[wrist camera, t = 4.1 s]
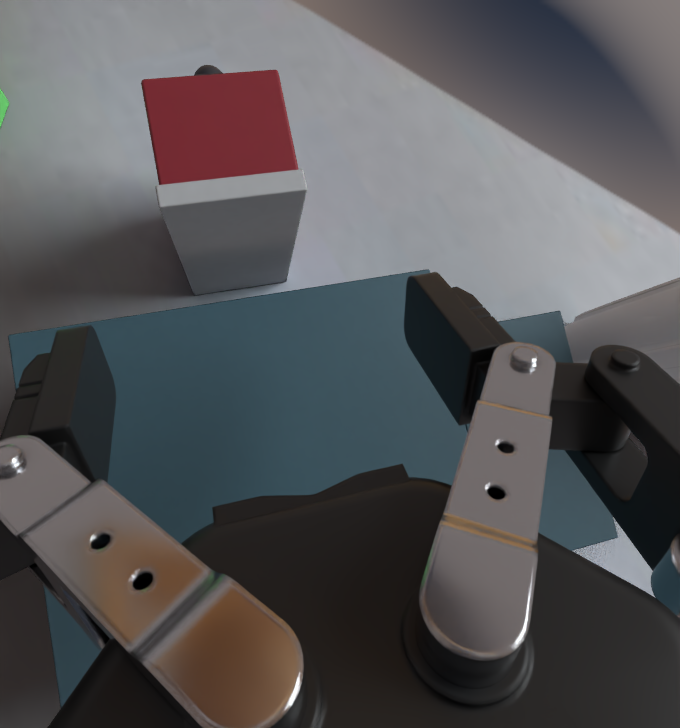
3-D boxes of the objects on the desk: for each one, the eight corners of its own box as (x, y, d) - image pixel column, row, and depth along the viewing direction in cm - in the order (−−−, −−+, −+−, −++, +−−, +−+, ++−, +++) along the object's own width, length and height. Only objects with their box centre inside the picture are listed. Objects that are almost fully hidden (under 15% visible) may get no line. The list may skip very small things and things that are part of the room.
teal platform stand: (118, 688, 22) (70, 782, 16) (68, 360, 23) (6, 334, 17) (547, 566, 25) (635, 604, 20) (481, 291, 27) (545, 250, 21)
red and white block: (194, 296, 24) (158, 207, 15) (173, 181, 25) (127, 28, 16) (286, 281, 25) (307, 189, 16) (264, 171, 26) (272, 19, 16)
